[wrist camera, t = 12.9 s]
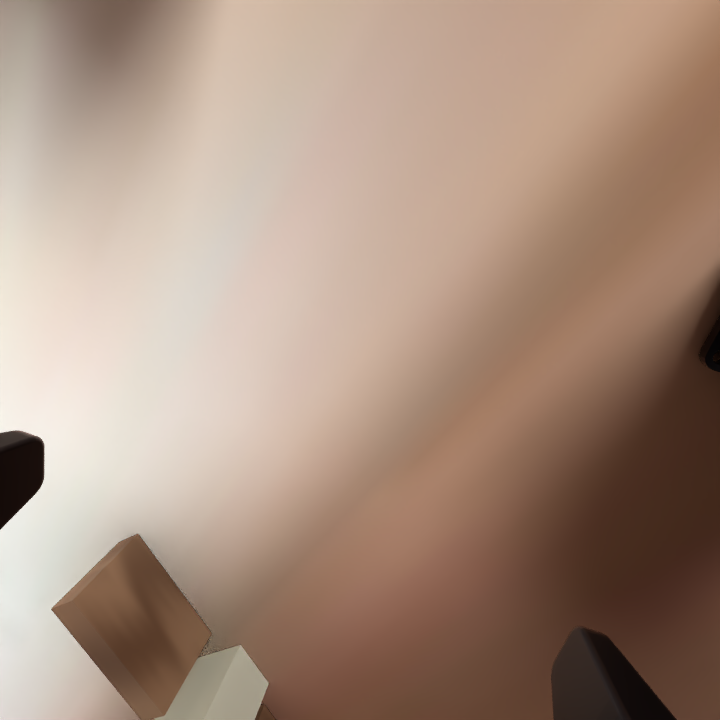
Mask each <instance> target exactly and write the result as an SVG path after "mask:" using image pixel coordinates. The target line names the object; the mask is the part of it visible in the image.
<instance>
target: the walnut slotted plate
mask: <svg viewBox="0 0 720 720" xmlns="http://www.w3.org/2000/svg"><path fill="white" fill-rule="evenodd" d="M51 610H52V611H53V612H54V613H55V615H56V616H57V617H58V618H59V619H60V621H61V622H62V623H63V624H64V626H65V627H66V628H67V629H68V631H69V632H70V633H71V634H72V635H73V637H74V638H75V639H76V640H77V642H78V643H79V644H80V645H81V647H82V648H83V649H84V650H85V651H86V653H87V654H88V655H89V656H90V658H91V659H92V660H93V661H94V663H95V664H96V665H97V666H98V667H99V669H100V670H101V671H102V672H103V674H104V675H105V676H106V677H107V679H108V680H109V681H110V682H111V683H112V685H113V686H114V687H115V688H116V690H117V691H118V692H119V693H120V695H121V696H122V697H123V698H124V699H125V701H126V702H127V703H128V704H129V706H130V707H131V708H132V709H133V711H134V712H135V713H136V714H137V715H138V717H139V718H140V719H141V720H150V719H154V718H158V717H162V716H165V714H166V712H167V711H168V709H169V707H170V705H171V704H172V702H173V700H174V698H175V697H176V695H177V693H178V691H179V690H180V688H181V686H182V684H183V683H184V681H185V679H186V678H187V676H188V674H189V672H190V671H191V669H192V667H193V665H194V664H195V662H196V660H197V658H198V657H199V655H200V653H201V651H202V650H203V648H204V646H205V644H206V643H207V641H208V639H209V637H210V636H211V634H212V633H211V632H210V630H209V629H208V628H207V626H206V625H205V624H204V622H203V621H202V620H201V618H200V617H199V616H198V614H197V613H196V612H195V610H194V609H193V607H192V606H191V605H190V603H189V602H188V601H187V599H186V598H185V597H184V595H183V594H182V593H181V591H180V590H179V589H178V587H177V586H176V584H175V583H174V582H173V580H172V579H171V578H170V576H169V575H168V574H167V572H166V571H165V570H164V568H163V567H162V566H161V564H160V563H159V562H158V560H157V559H156V557H155V556H154V555H153V553H152V552H151V551H150V549H149V548H148V547H147V545H146V544H145V543H144V541H143V540H142V539H141V537H140V536H139V534H136V535H134V536H132V537H130V538H127V539H125V540H123V541H121V542H119V543H118V544H117V545H116V546H115V547H114V548H113V549H112V550H111V551H110V552H109V553H108V554H107V555H106V556H105V557H103V558H102V559H101V560H100V561H99V562H98V563H97V564H96V565H95V566H94V567H93V568H92V569H91V570H90V571H89V572H88V573H87V574H86V575H85V576H84V577H83V578H82V579H81V580H80V581H79V582H78V583H77V584H76V585H75V586H74V587H73V588H72V589H71V590H70V591H69V592H68V593H67V594H66V595H65V596H64V597H63V598H62V599H61V600H60V601H59V602H58V603H57V604H56V605H55V606H54V607H53V608H52V609H51ZM255 720H275V718H274V717H273V716H272V714H271V713H270V712H269V710H268V709H267V707H266V706H265V705H260V707H259V710H258V712H257V715H256V718H255Z"/></svg>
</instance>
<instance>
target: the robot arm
mask: <svg viewBox="0 0 720 720" xmlns="http://www.w3.org/2000/svg"><path fill="white" fill-rule="evenodd" d="M718 351H720V316H719V318H718V320H717V322H716V323H715V325H714V327H713V329H712V331H711V332H710V334H709V336H708V338H707V340H706V341H705V343H704V345H703V347H702V349H701V351H700V354H699V357H700V361H701V362H702V364H704V365H705V366H707V367H709V368H710V369H712V370H714V371H718V372H720V359H719V360H717V361H714V360H713V356H714V354H715V353H716V352H718ZM43 480H44V443H43V441H42V439H41V438H39V437H37V436H34V435H32V434H29V433H26V432H23V431H9V432H3V433H0V529H1V528H2V527H3V526H4V525H5V524H6V523H7V522H8V521H9V520H10V519H11V518H12V517H13V516H14V515H15V514H16V513H17V512H18V511H19V510H20V509H21V508H22V507H23V506H24V505H25V504H26V503H27V502H28V501H29V500H30V499H31V498H32V497H33V496H34V495H35V494H36V493H37V491H38V490H39V489H40V487H41V485H42V483H43ZM551 683H552V701H553V718H554V720H677V719H676V718H675V717H674V716H673V715H672V713H671V712H670V711H669V710H668V709H667V707H666V706H665V705H664V704H663V703H662V701H661V700H660V699H659V698H658V696H657V695H656V694H655V693H654V692H653V690H652V689H651V688H650V687H649V686H648V684H647V683H646V682H645V681H644V680H643V678H642V677H641V676H640V675H639V674H638V672H637V671H636V670H635V669H634V668H633V666H632V665H631V664H630V663H629V661H628V660H627V659H626V658H625V657H624V655H623V654H622V653H621V652H620V651H619V649H618V648H617V647H616V646H615V645H614V643H613V642H612V641H611V640H610V639H609V638H608V637H607V636H606V635H604V634H603V633H600V632H597V631H594V630H592V629H589V628H586V627H583V626H577V627H575V628H573V630H572V631H571V632H570V634H569V636H568V638H567V639H566V641H565V643H564V645H563V646H562V648H561V650H560V652H559V653H558V655H557V657H556V659H555V661H554V663H553V667H552V674H551Z"/></svg>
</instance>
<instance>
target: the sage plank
mask: <svg viewBox="0 0 720 720" xmlns="http://www.w3.org/2000/svg"><path fill="white" fill-rule="evenodd" d="M268 684H269V683H268V681H267V680H266V679H265V677H264V676H263V675H262V673H261V672H260V671H259V669H258V668H257V666H256V665H255V664H254V662H253V661H252V660H251V658H250V657H249V656H248V654H247V653H246V651H245V650H244V649H243V647H242V646H241V645H238V646H235V647H231V648H228V649H225V650H222V651H218V652H215V653H212V654H209V655H205V656H202V657H199V658H197V660H196V662H195V664H194V665H193V667H192V669H191V671H190V672H189V674H188V676H187V678H186V679H185V681H184V683H183V684H182V686H181V688H180V690H179V691H178V693H177V695H176V697H175V698H174V700H173V702H172V704H171V705H170V707H169V709H168V711H167V712H166V714H165V716H162V717H158V718H155V719H154V720H255V718H256V715H257V712H258V710H259V707H260V705H261V702H262V700H263V697H264V694H265V692H266V689H267V687H268Z"/></svg>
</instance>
